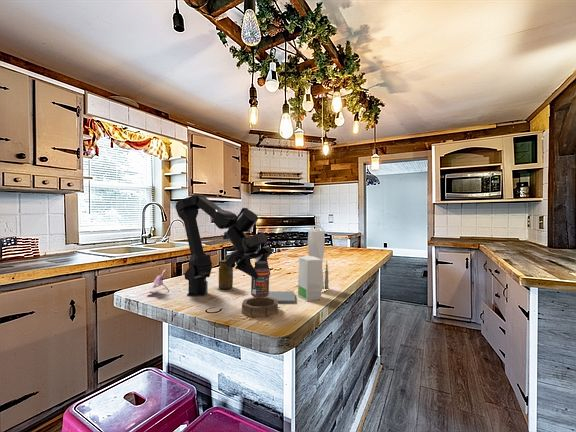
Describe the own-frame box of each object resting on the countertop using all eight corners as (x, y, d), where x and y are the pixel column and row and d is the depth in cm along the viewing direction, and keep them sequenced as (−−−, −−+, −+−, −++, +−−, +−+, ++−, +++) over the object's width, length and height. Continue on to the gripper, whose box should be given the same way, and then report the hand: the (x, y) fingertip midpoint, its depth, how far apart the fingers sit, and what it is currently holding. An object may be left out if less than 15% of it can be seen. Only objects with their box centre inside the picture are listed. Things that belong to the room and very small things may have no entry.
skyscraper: (321, 294, 115) (322, 225, 114) (303, 291, 119) (304, 225, 118) (329, 289, 122) (329, 225, 122) (312, 287, 126) (312, 224, 126)
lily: (159, 290, 123) (147, 272, 120) (183, 280, 121) (171, 262, 118) (146, 307, 111) (133, 288, 108) (172, 296, 110) (159, 277, 107)
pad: (262, 303, 102) (262, 300, 102) (264, 293, 114) (264, 291, 114) (295, 303, 102) (295, 300, 102) (293, 293, 114) (293, 291, 114)
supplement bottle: (254, 299, 90) (255, 264, 90) (248, 294, 95) (248, 261, 95) (271, 296, 93) (272, 262, 93) (264, 292, 98) (265, 259, 98)
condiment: (229, 285, 127) (229, 258, 127) (238, 289, 121) (238, 261, 121) (214, 287, 123) (214, 260, 123) (223, 292, 116) (223, 263, 116)
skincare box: (297, 295, 112) (297, 256, 112) (312, 293, 114) (312, 255, 114) (307, 301, 104) (307, 259, 104) (322, 299, 107) (323, 258, 107)
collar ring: (240, 317, 88) (240, 307, 88) (245, 305, 100) (245, 296, 100) (277, 317, 88) (277, 307, 88) (277, 305, 100) (278, 296, 100)
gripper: (232, 226, 88) (258, 265, 82) (269, 224, 104) (293, 257, 97) (215, 249, 93) (238, 287, 87) (253, 244, 108) (275, 277, 102)
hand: (263, 276), depth 93 cm, fingers closed on supplement bottle, 6 cm apart
